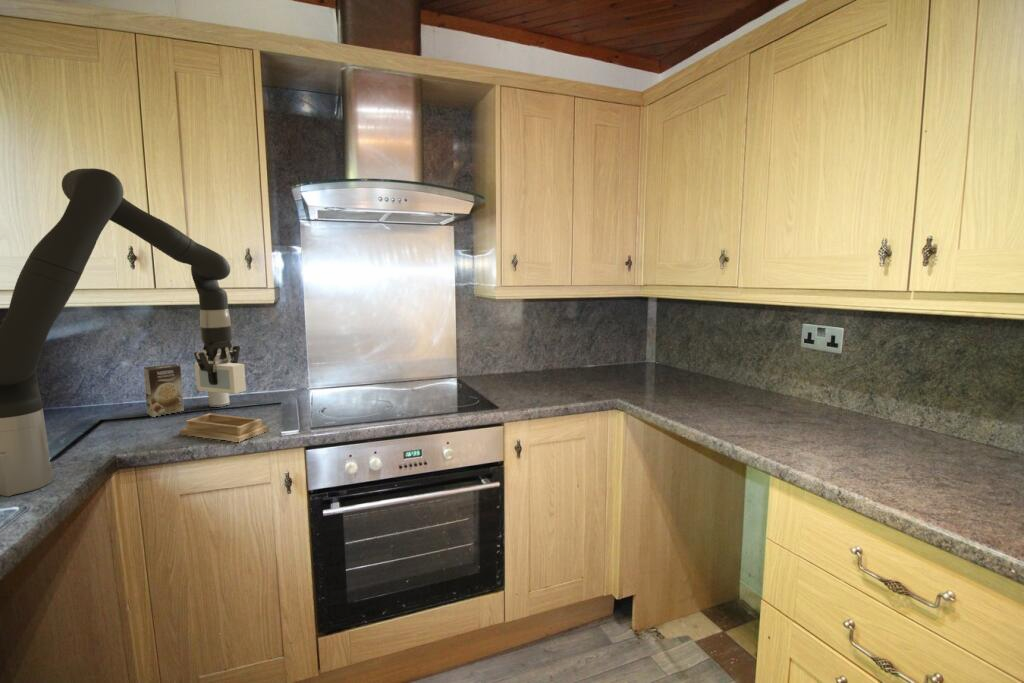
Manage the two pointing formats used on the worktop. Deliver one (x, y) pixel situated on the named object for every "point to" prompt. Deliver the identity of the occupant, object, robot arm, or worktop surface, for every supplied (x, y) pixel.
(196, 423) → the wooden tray
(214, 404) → the travel mug
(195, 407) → the worktop surface
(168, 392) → the coffee box
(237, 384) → the cream rectangular block
